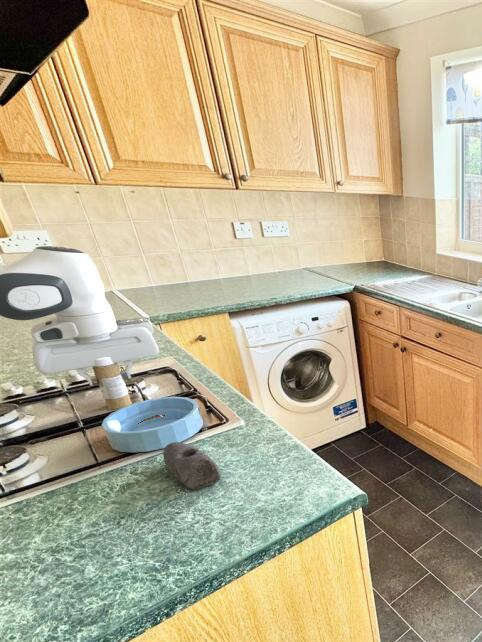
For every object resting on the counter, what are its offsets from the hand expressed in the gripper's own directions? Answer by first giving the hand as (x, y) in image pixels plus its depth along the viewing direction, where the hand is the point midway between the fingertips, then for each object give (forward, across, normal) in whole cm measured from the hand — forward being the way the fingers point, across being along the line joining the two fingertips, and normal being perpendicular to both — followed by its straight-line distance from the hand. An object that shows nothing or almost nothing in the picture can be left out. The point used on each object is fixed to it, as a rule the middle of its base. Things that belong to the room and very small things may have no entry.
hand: (110, 381), depth 97 cm
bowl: (+7, -5, +20) cm, 22 cm away
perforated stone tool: (+7, -6, +41) cm, 42 cm away
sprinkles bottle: (+7, 0, 0) cm, 7 cm away
